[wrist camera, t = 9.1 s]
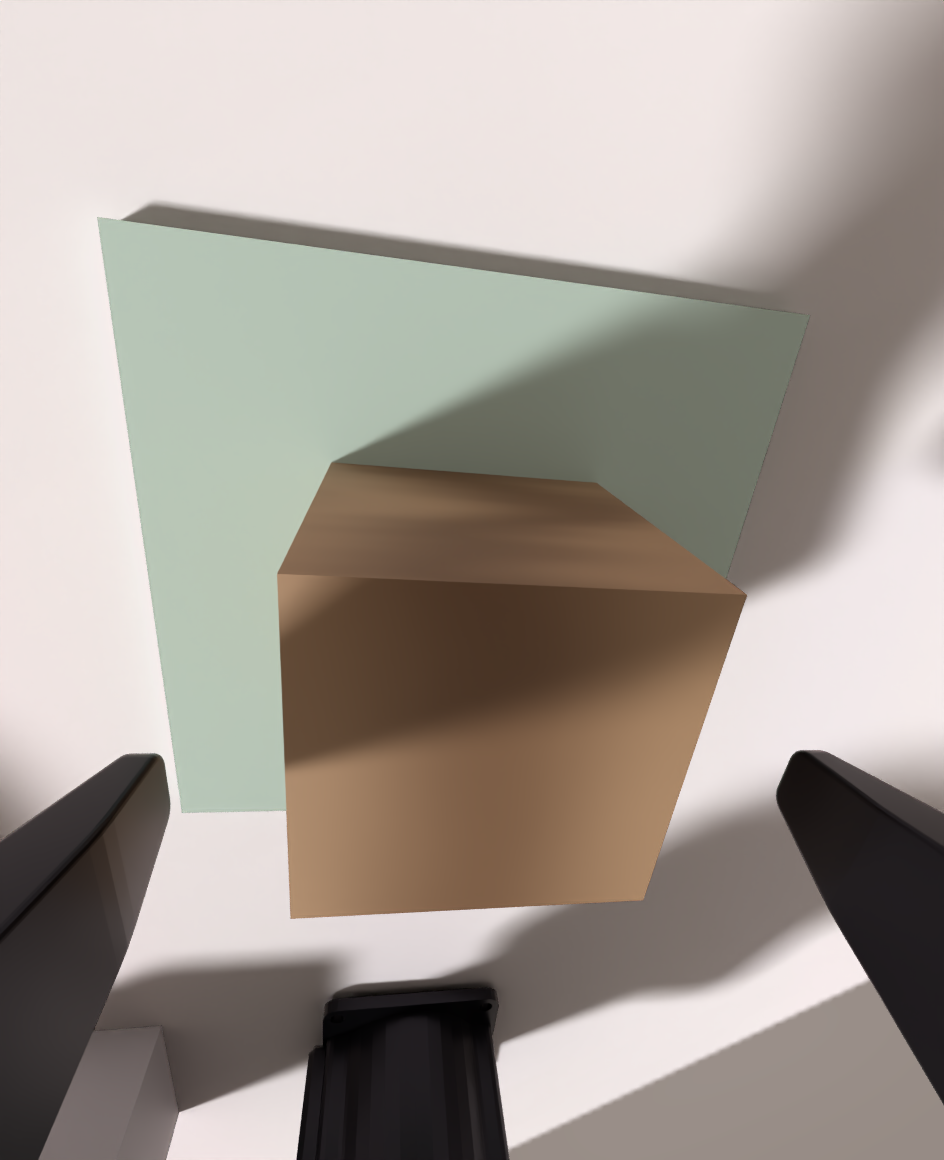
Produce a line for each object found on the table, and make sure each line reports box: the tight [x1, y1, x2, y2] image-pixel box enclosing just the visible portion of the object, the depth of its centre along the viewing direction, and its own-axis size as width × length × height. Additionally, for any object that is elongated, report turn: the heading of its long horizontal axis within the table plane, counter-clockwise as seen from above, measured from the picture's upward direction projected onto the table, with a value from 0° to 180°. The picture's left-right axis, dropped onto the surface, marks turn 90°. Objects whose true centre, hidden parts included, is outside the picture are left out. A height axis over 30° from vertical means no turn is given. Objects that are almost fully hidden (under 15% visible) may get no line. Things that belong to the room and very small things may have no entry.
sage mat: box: [97, 217, 810, 813], centre depth 14 cm, size 14×14×1 cm
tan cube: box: [277, 462, 747, 919], centre depth 11 cm, size 6×6×6 cm
